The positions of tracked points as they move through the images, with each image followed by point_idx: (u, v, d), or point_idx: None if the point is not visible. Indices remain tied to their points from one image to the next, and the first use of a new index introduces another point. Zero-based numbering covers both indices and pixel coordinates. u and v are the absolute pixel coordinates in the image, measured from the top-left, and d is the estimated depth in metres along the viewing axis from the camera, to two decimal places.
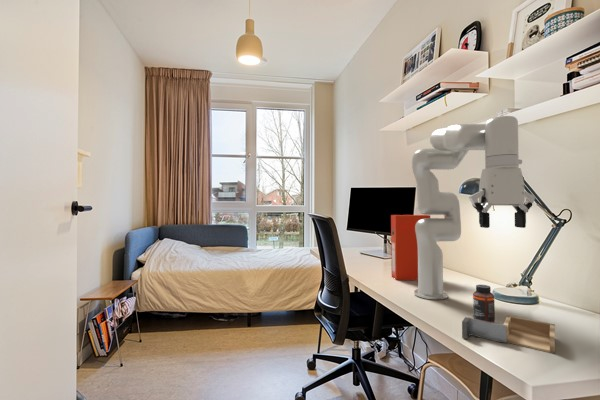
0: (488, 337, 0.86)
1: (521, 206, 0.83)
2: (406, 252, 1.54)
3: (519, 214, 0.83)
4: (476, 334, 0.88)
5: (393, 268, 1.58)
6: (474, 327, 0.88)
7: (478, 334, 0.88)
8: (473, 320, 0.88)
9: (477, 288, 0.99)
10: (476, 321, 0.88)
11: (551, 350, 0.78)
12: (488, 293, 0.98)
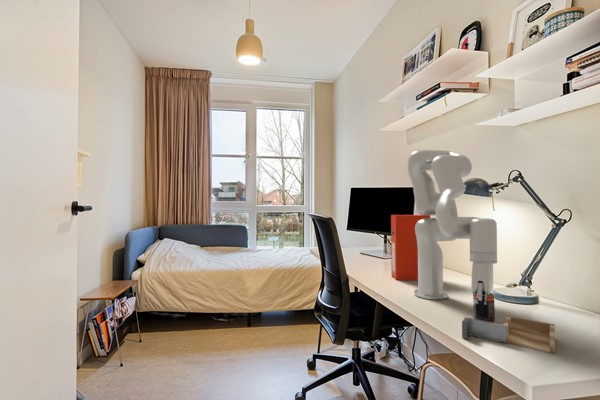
0: (488, 337, 0.86)
1: None
2: (406, 252, 1.54)
3: None
4: (476, 334, 0.88)
5: (393, 268, 1.58)
6: (474, 327, 0.88)
7: (478, 334, 0.88)
8: (473, 320, 0.88)
9: None
10: (476, 321, 0.88)
11: (551, 350, 0.78)
12: None
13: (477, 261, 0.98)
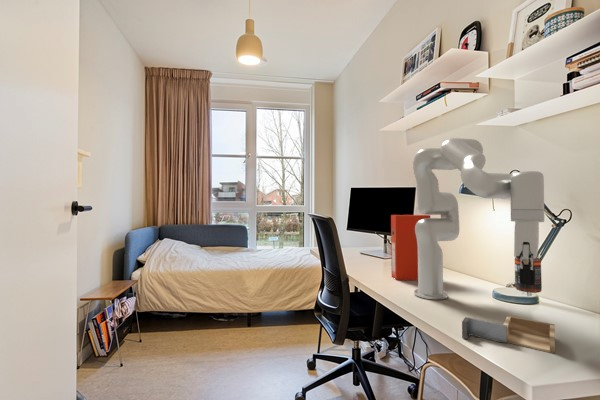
0: (488, 337, 0.86)
1: None
2: (406, 252, 1.54)
3: None
4: (476, 334, 0.88)
5: (393, 268, 1.58)
6: (474, 327, 0.88)
7: (478, 334, 0.88)
8: (473, 320, 0.88)
9: None
10: (476, 321, 0.88)
11: (551, 350, 0.78)
12: None
13: (521, 220, 0.84)
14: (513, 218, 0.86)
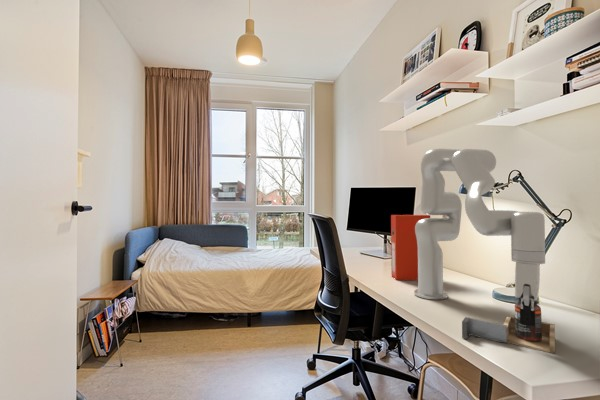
0: (488, 337, 0.86)
1: None
2: (406, 252, 1.54)
3: None
4: (476, 334, 0.88)
5: (393, 268, 1.58)
6: (474, 327, 0.88)
7: (478, 334, 0.88)
8: (473, 320, 0.88)
9: (520, 299, 0.86)
10: (476, 321, 0.88)
11: (551, 350, 0.78)
12: (534, 304, 0.84)
13: (522, 261, 0.84)
14: (514, 258, 0.86)
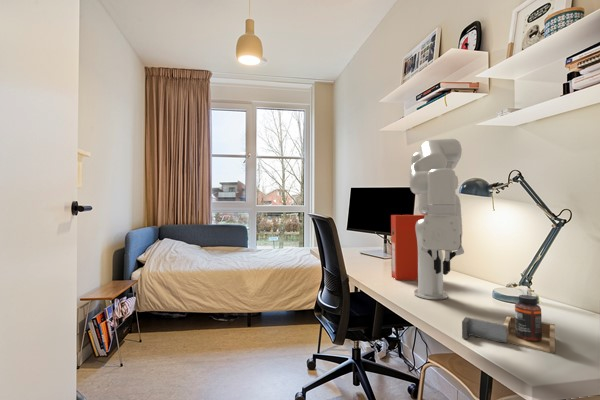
0: (488, 337, 0.86)
1: None
2: (406, 252, 1.54)
3: (439, 261, 0.92)
4: (476, 334, 0.88)
5: (393, 268, 1.58)
6: (474, 327, 0.88)
7: (478, 334, 0.88)
8: (473, 320, 0.88)
9: (520, 299, 0.86)
10: (476, 321, 0.88)
11: (551, 350, 0.78)
12: (534, 304, 0.84)
13: (453, 214, 0.89)
14: (447, 213, 0.88)
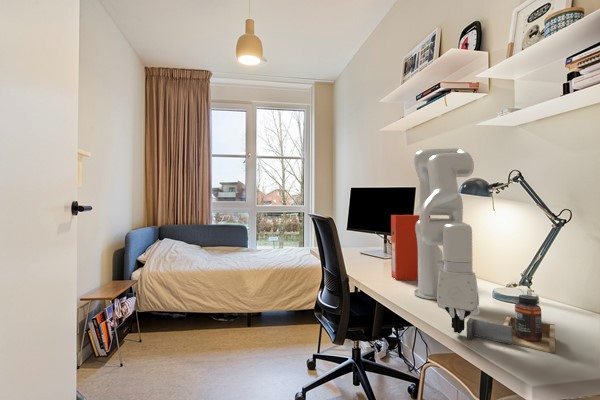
0: (493, 338, 0.85)
1: None
2: (406, 252, 1.54)
3: None
4: (481, 335, 0.87)
5: (393, 268, 1.58)
6: (479, 328, 0.87)
7: (483, 335, 0.87)
8: (478, 321, 0.88)
9: (520, 299, 0.86)
10: (480, 322, 0.87)
11: (551, 350, 0.78)
12: (534, 304, 0.84)
13: (470, 272, 0.86)
14: (463, 271, 0.85)
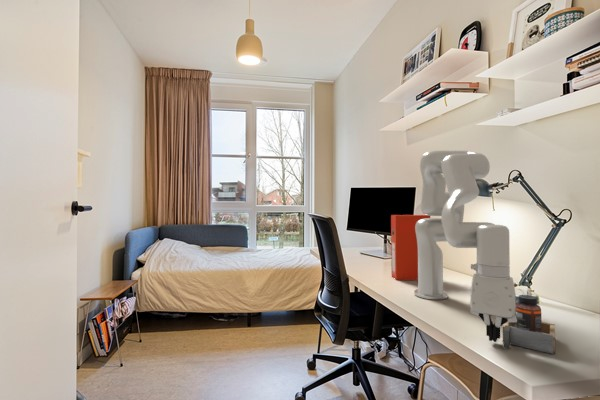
0: (532, 347, 0.80)
1: None
2: (406, 252, 1.54)
3: (493, 326, 0.84)
4: (518, 344, 0.82)
5: (393, 268, 1.58)
6: (516, 336, 0.82)
7: (520, 344, 0.81)
8: (514, 329, 0.82)
9: (520, 299, 0.86)
10: (518, 329, 0.82)
11: None
12: (534, 304, 0.84)
13: (508, 277, 0.80)
14: (501, 276, 0.80)
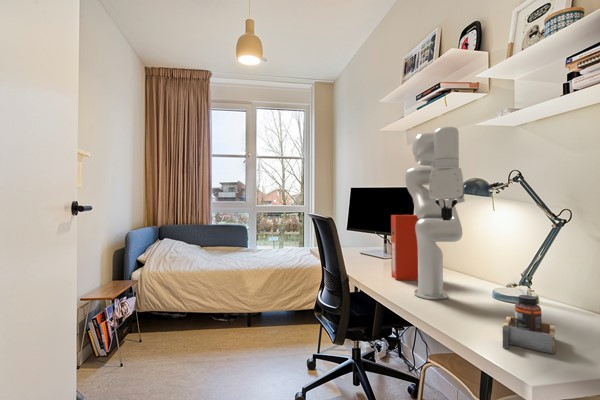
0: (531, 347, 0.80)
1: None
2: (406, 252, 1.54)
3: None
4: (517, 343, 0.82)
5: (393, 268, 1.58)
6: (515, 336, 0.82)
7: (519, 343, 0.82)
8: (514, 328, 0.82)
9: (520, 299, 0.86)
10: (517, 329, 0.82)
11: None
12: (534, 304, 0.84)
13: (457, 167, 1.01)
14: (451, 165, 1.01)
